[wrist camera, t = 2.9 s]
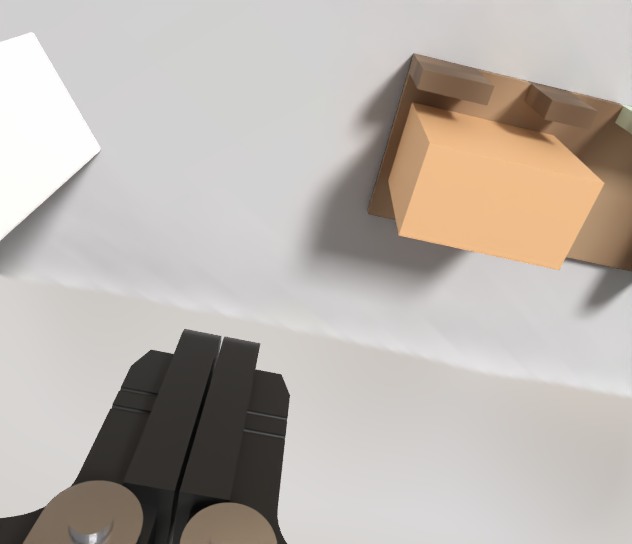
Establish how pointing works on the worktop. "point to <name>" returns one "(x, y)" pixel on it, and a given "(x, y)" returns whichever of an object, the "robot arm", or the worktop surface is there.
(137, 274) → the worktop surface
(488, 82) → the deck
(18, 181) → the milk
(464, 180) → the block
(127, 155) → the worktop surface
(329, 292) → the worktop surface
